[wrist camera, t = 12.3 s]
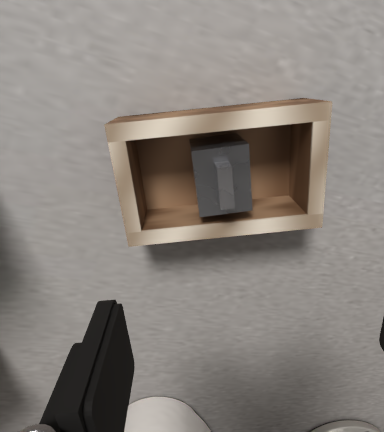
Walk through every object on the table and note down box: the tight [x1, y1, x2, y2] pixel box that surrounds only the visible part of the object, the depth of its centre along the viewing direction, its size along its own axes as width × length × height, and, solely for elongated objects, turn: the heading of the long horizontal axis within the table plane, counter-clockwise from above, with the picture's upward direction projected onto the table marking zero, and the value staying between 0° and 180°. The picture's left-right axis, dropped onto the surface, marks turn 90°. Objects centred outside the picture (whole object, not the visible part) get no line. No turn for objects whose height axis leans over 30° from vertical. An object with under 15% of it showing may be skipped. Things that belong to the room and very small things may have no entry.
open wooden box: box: [105, 98, 332, 247], centre depth 25 cm, size 15×9×5 cm, turn 95°
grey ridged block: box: [189, 133, 252, 217], centre depth 24 cm, size 4×5×6 cm
